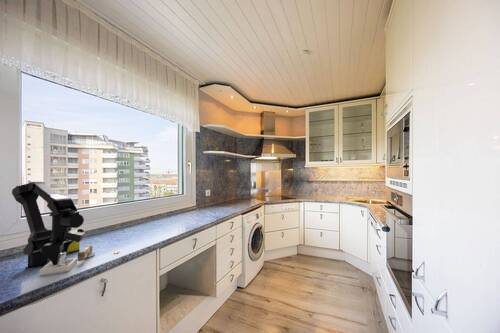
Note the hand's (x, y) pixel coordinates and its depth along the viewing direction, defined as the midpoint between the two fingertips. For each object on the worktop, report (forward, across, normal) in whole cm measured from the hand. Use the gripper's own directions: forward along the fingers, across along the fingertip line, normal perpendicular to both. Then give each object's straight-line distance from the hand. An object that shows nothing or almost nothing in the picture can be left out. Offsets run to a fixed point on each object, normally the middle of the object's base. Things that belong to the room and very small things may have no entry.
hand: (59, 261), depth 94 cm
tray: (+3, 0, 0) cm, 3 cm away
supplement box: (+4, +25, +4) cm, 26 cm away
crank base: (+3, +13, -12) cm, 18 cm away
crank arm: (+2, +8, -7) cm, 11 cm away
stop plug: (+3, 0, 0) cm, 3 cm away
